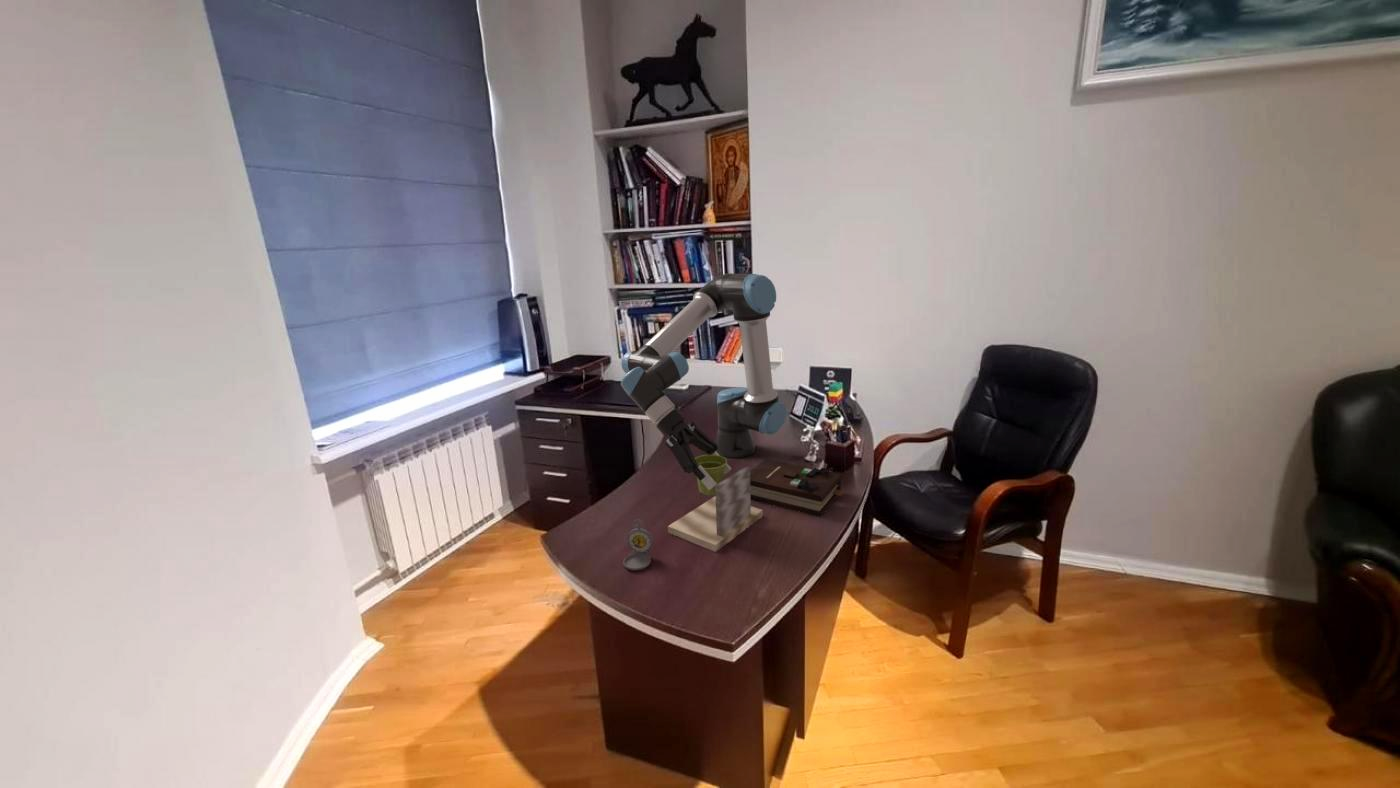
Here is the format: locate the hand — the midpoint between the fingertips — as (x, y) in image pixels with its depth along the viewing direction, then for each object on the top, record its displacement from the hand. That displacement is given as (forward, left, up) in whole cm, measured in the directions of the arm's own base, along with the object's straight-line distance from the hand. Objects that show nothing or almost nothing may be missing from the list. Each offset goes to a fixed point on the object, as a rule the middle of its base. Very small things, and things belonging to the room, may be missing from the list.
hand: (720, 479), depth 145 cm
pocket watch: (+26, -6, -14) cm, 30 cm away
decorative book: (-26, +7, -14) cm, 31 cm away
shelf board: (0, -1, -14) cm, 14 cm away
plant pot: (+1, -3, -4) cm, 5 cm away
